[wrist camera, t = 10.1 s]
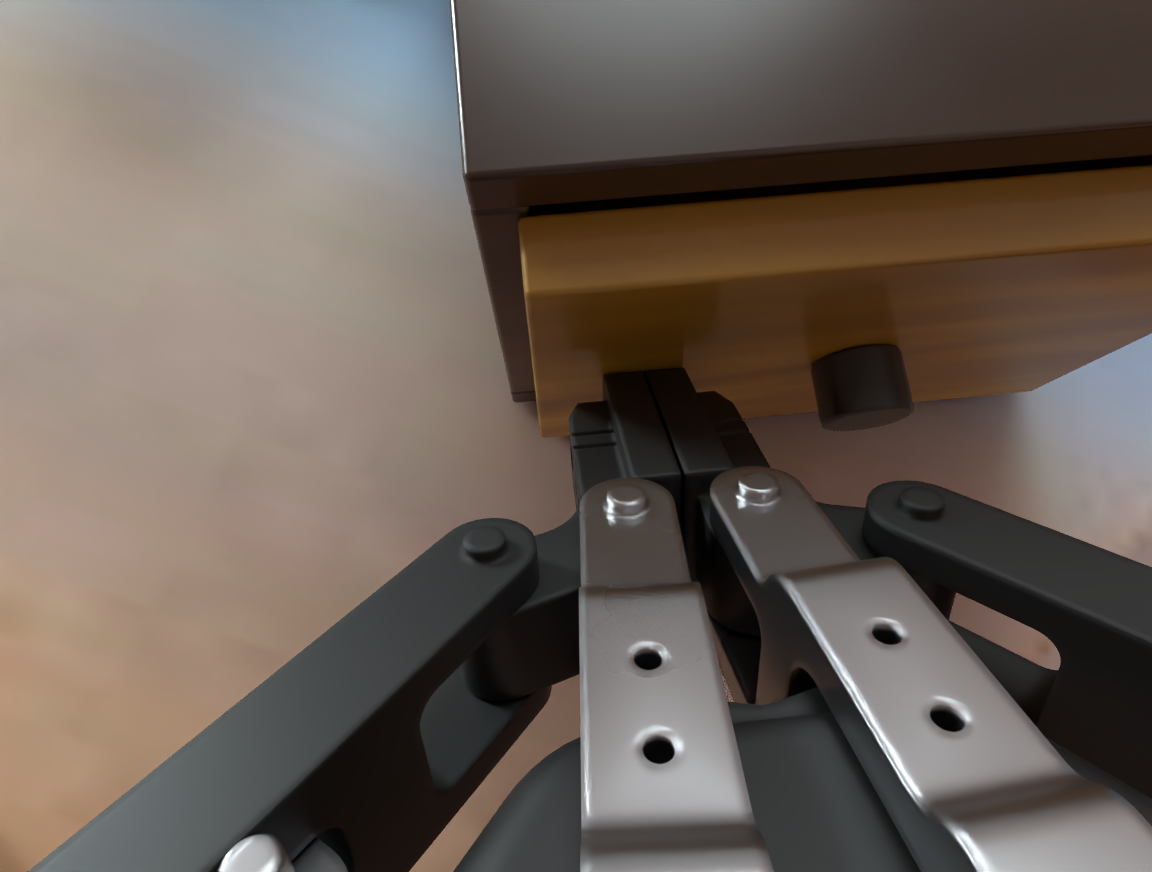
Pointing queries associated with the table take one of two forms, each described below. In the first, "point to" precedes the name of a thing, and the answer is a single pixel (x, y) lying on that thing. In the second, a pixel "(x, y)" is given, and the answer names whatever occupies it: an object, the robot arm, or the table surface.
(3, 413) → the table surface
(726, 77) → the cabinet
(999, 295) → the wooden drawer
